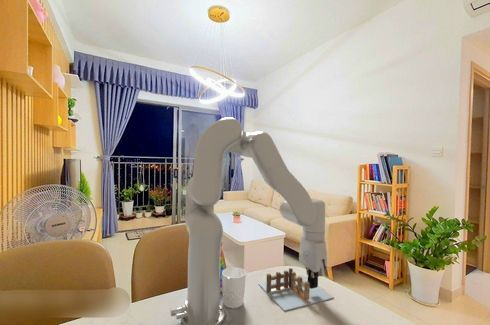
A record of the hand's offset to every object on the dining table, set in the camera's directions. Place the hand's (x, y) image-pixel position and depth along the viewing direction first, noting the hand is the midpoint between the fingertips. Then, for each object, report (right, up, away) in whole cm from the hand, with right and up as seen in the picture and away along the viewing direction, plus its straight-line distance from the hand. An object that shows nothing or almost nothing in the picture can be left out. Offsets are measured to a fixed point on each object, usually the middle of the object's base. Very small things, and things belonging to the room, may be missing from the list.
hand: (312, 286), depth 86 cm
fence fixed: (-11, -3, +3) cm, 12 cm away
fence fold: (-5, -2, 0) cm, 5 cm away
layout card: (-6, -3, +2) cm, 7 cm away
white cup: (-28, -3, -5) cm, 28 cm away
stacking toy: (-35, -3, +3) cm, 35 cm away
